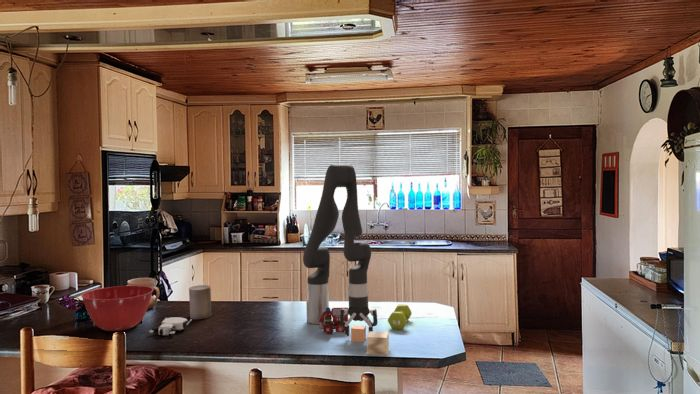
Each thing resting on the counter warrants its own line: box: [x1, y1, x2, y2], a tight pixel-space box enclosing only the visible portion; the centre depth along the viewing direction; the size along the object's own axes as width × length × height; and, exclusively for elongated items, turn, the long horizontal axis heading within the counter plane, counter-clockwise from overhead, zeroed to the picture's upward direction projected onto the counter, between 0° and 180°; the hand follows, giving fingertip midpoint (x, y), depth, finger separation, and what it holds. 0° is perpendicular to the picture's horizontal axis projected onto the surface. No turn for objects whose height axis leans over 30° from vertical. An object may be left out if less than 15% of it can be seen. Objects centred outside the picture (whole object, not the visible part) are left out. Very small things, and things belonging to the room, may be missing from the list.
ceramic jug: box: [125, 277, 160, 310], centre depth 262 cm, size 18×14×14 cm
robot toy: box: [148, 316, 193, 336], centre depth 223 cm, size 12×4×15 cm
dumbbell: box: [387, 303, 413, 331], centre depth 230 cm, size 16×8×7 cm, turn 164°
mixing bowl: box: [81, 285, 154, 332], centre depth 232 cm, size 28×28×15 cm
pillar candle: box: [188, 284, 213, 320], centre depth 246 cm, size 10×10×15 cm
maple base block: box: [366, 330, 390, 356], centre depth 193 cm, size 7×7×6 cm
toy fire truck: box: [318, 307, 350, 335], centre depth 221 cm, size 7×12×10 cm, turn 86°
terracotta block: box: [350, 324, 367, 343], centre depth 207 cm, size 5×5×6 cm
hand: (359, 336), depth 207 cm, fingers open, 8 cm apart
